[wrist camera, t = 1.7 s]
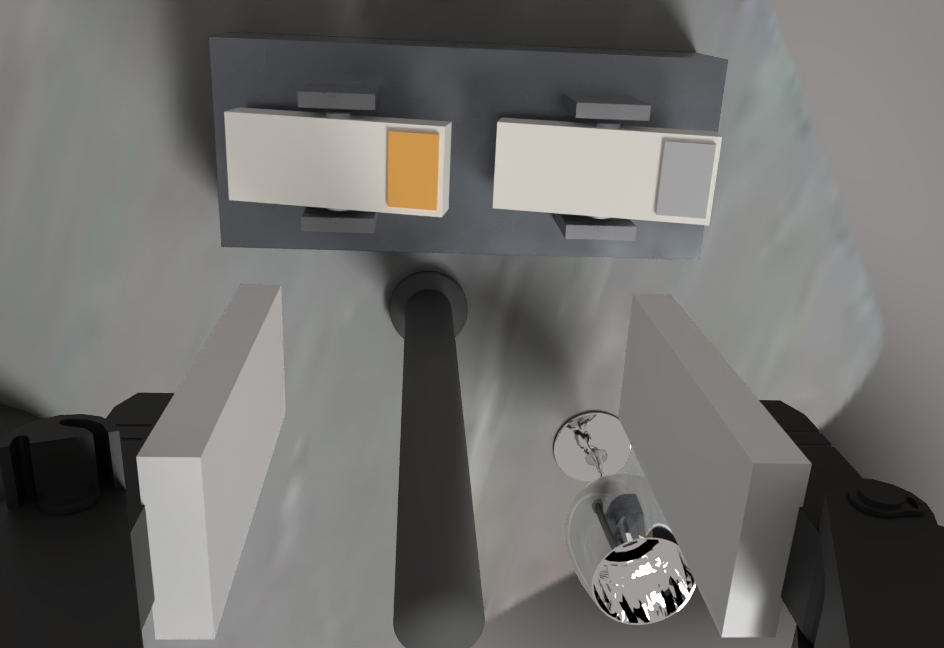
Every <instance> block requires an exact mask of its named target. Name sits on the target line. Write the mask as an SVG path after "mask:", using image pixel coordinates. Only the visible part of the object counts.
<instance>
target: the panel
mask: <svg viewBox="0 0 944 648" xmlns="http://www.w3.org/2000/svg"><path fill="white" fill-rule="evenodd" d="M209 48H210V64H211V81H212V98H213V114H214V131H215V147H216V164H217V181H218V197H219V214H220V231H221V247H244V248H281V249H317V250H354V251H391V252H428V253H464V254H501V255H538V256H575V257H612V258H648V259H685V260H699V258H700V251H701V244H702V237H703V230H704V225H697V224H685V223H672V222H660V221H647V220H635V219H622V218H608V219H596V218H591V217H589V216H584V215H572V214H559V213H546V212H534V211H521V210H509V209H496V208H493V191H494V173H495V154H496V136H497V122H498V121H499V120H500V119H501V118H517V119H533V120H548V121H563V122H578V123H593V124H596V122H600V121H606V122H616V123H620V124H621V125H623V126H638V127H653V128H669V129H684V130H699V131H714V132H718V126H719V119H720V113H721V106H722V99H723V92H724V85H725V78H726V71H727V64H728V60H727V59H722V58H718V57H713V56H709V55H704V54H700V53H689V52H667V51H644V50H622V49H599V48H577V47H554V46H531V45H509V44H486V43H464V42H441V41H419V40H396V39H374V38H351V37H329V36H306V35H284V34H261V33H239V32H229V33H225V34H220V35H215V36H211V37H209ZM239 107H241V108H256V109H271V110H286V111H300V112H315V113H326V112H329V111H343V112H350V113H351V115H360V116H375V117H390V118H405V119H419V120H434V121H449V122H452V126H451V154H450V182H449V209H448V210H447V212H446V213H445V214H444V215H443V217H431V216H419V215H406V214H394V213H382V212H370V211H357V210H346V211H333V210H329V209H327V208H320V207H308V206H296V205H284V204H271V203H259V202H247V201H234V200H229V190H228V172H227V154H226V136H225V118H224V112H225V111H228V110H232V109H235V108H239Z"/></svg>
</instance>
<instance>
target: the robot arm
mask: <svg viewBox="0 0 944 648" xmlns="http://www.w3.org/2000/svg"><path fill="white" fill-rule="evenodd" d="M285 413H286V412H285V384H284V355H283V326H282V298H281V285H257V284H241V285H240V286H239V288H238V290H237V291H236V293H235V295H234V296H233V298H232V300H231V301H230V303H229V304H228V306H227V308H226V309H225V311H224V313H223V314H222V316H221V318H220V319H219V321H218V323H217V324H216V326H215V328H214V329H213V331H212V333H211V334H210V336H209V337H208V339H207V341H206V342H205V344H204V346H203V347H202V349H201V351H200V352H199V354H198V356H197V357H196V359H195V361H194V362H193V364H192V366H191V367H190V369H189V371H188V372H187V374H186V375H185V377H184V379H183V380H182V382H181V384H180V385H179V387H178V389H177V390H176V392H175V393H137V394H135V395H134V396H132V397H130V398H129V399H127V400H125V401H124V402H122V403H120V404H119V405H117V406H115V407H114V408H113V410H112V411H111V412H110V414H109V415H108V416H107V418H106V419H105V418H103V417H100V416H92V415H85V414H75V415H59V416H54V417H50V418H45V419H39V418H37V417H34V416H32V415H30V414H28V413H25V412H23V411H20V410H17V409H14V408H11V407H8V406H4V405H0V648H143V639H142V628H143V626H144V624H145V621H146V619H147V617H148V614H149V612H150V610H151V607H152V610H153V620H154V629H155V639H215V636H216V633H217V629H218V626H219V623H220V620H221V617H222V613H223V610H224V607H225V604H226V601H227V598H228V594H229V591H230V588H231V585H232V582H233V578H234V575H235V572H236V569H237V566H238V563H239V559H240V556H241V553H242V550H243V547H244V543H245V540H246V537H247V534H248V531H249V528H250V524H251V521H252V518H253V515H254V512H255V508H256V505H257V502H258V499H259V496H260V493H261V489H262V486H263V483H264V480H265V477H266V473H267V470H268V467H269V464H270V461H271V458H272V454H273V451H274V448H275V445H276V442H277V438H278V435H279V432H280V429H281V426H282V423H283V419H284V416H285ZM618 418H619V420H620V422H621V424H622V427H623V429H624V431H625V433H626V435H627V437H628V439H629V441H630V444H631V446H632V448H633V450H634V452H635V454H636V456H637V458H638V461H639V463H640V465H641V467H642V469H643V471H644V473H645V475H646V478H647V480H648V482H649V484H650V486H651V488H652V490H653V492H654V495H655V497H656V499H657V501H658V503H659V505H660V507H661V510H662V512H663V514H664V516H665V518H666V520H667V522H668V524H669V527H670V529H671V531H672V533H673V535H674V537H675V539H676V541H677V544H678V546H679V548H680V550H681V552H682V554H683V556H684V558H685V561H686V563H687V565H688V567H689V569H690V571H691V573H692V575H693V578H694V580H695V582H696V584H697V586H698V588H699V590H700V593H701V595H702V597H703V599H704V601H705V603H706V605H707V607H708V610H709V612H710V614H711V616H712V618H713V620H714V622H715V624H716V627H717V629H718V631H719V633H720V635H721V637H775V635H776V631H777V625H778V621H779V616H780V611H781V607H782V602H784V603H785V605H786V607H787V608H788V610H789V612H790V613H791V615H792V617H793V618H794V620H795V622H796V623H797V626H796V630H795V634H794V639H793V644H792V648H944V527H943V526H939V525H938V524H937V522H936V519H935V516H934V514H933V512H932V511H931V509H930V508H929V507H928V505H927V504H926V503H925V502H923V501H922V500H921V499H920V498H918V497H917V496H915V495H914V494H912V493H911V492H909V491H906V490H904V489H902V488H900V487H897V486H895V485H893V484H889V483H885V482H881V481H877V480H874V479H864V478H862V477H861V476H860V475H859V474H858V472H857V471H856V470H855V469H854V468H853V467H852V466H851V465H850V464H849V463H848V462H847V460H846V459H845V458H844V457H843V456H842V455H841V454H840V453H839V452H838V451H837V450H836V448H835V447H831V443H830V442H829V441H828V440H827V439H826V437H825V436H824V435H823V434H820V433H819V430H818V429H817V428H816V426H815V425H814V424H813V423H812V422H811V421H810V420H809V419H808V418H807V417H806V415H804V414H803V413H801V412H799V411H797V410H796V409H794V408H792V407H790V406H789V405H787V404H785V403H783V402H782V401H777V400H758V399H757V398H756V396H755V395H754V394H753V393H752V392H751V390H750V389H749V388H748V387H747V386H746V384H745V383H744V382H743V381H742V380H741V378H740V377H739V376H738V375H737V374H736V372H735V371H734V370H733V369H732V368H731V366H730V365H729V364H728V363H727V362H726V360H725V359H724V358H723V357H722V356H721V354H720V353H719V352H718V351H717V350H716V348H715V347H714V346H713V345H712V344H711V342H710V341H709V340H708V339H707V338H706V336H705V335H704V334H703V333H702V332H701V330H700V329H699V328H698V327H697V326H696V324H695V323H694V322H693V321H692V320H691V318H690V317H689V316H688V315H687V314H686V312H685V311H684V310H683V309H682V308H681V306H680V305H679V304H678V303H677V302H676V300H675V299H674V298H673V297H672V296H671V295H665V294H633V298H632V306H631V315H630V323H629V332H628V340H627V349H626V357H625V365H624V374H623V382H622V391H621V399H620V408H619V416H618Z"/></svg>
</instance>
